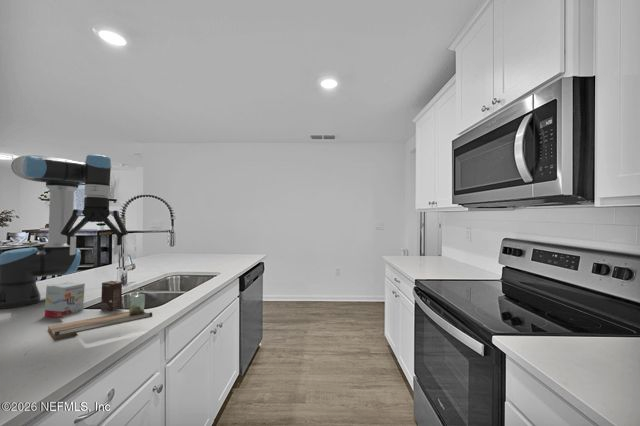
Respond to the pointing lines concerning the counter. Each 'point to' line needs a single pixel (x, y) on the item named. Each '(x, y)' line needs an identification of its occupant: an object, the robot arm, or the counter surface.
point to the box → (111, 296)
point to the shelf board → (91, 324)
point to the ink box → (64, 299)
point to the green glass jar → (136, 304)
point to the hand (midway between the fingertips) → (94, 254)
